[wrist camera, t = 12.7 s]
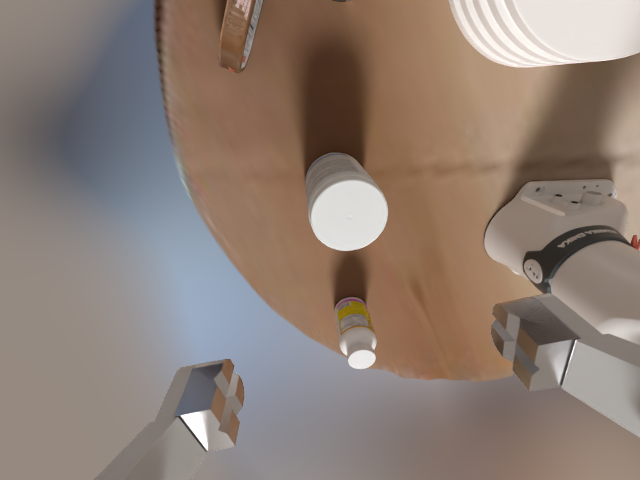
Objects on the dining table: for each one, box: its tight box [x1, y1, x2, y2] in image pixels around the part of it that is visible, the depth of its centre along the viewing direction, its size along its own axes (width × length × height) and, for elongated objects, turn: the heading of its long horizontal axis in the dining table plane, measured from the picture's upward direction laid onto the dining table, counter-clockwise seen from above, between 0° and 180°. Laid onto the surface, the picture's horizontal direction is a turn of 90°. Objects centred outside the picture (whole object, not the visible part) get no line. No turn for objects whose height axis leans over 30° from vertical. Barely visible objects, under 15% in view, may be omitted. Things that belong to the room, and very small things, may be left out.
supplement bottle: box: [335, 297, 376, 369], centre depth 54 cm, size 7×7×13 cm
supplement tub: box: [305, 153, 388, 251], centre depth 40 cm, size 10×10×15 cm
